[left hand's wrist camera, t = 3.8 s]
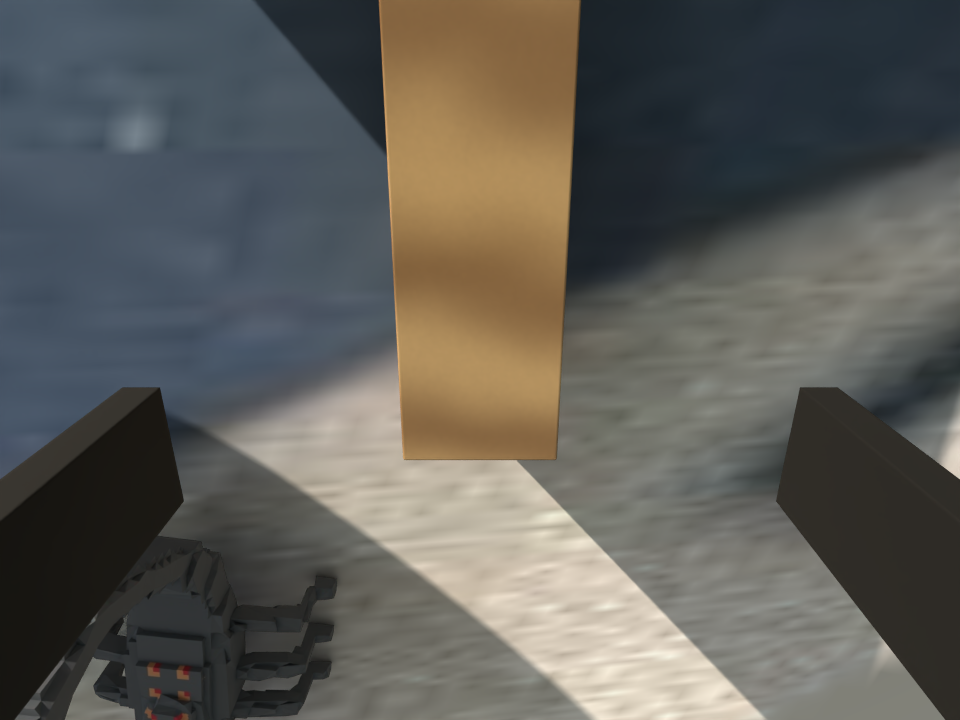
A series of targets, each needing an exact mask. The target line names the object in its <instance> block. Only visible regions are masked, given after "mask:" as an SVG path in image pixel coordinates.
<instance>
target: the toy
mask: <svg viewBox="0 0 960 720" xmlns="http://www.w3.org/2000/svg"><path fill="white" fill-rule="evenodd" d="M336 586H337V579H335V578H326V577H317V576H316V582H315V586H309V587H308V588H307V590H306V593H305V595H304V598H303V600H302V603H301V604H297V606H282V605H278V606H275V607H273V608H271V607H261V606H251V605H241V606H239V607H238V606H237V602H236V599H235V596H234V593H233V591H232V588H231V586H230V584H229V583H228V581H227V578H226V574H225V570H224V566H223V562H222V559H221V555H220V553H219V552H212V551H210V549H206V548H202V542H201V541H194V540H186V539H178V538H169V537H161V536H156V538H155V539H154V540H153V542H152V543H151V544H150V546H149V547H148V548H147V549H146V551H145V552H144V553H143V555H142V556H141V557H140V558H139V560H138V561H137V562H136V564H135V565H134V566H133V567H132V569H131V570H130V571H129V573H128V574H127V575H126V577H125V578H124V579H123V580H122V582H121V583H120V584H119V586H118V587H117V588H116V589H115V591H114V592H113V593H112V595H111V596H110V597H109V598H108V600H107V601H106V602H105V604H104V605H103V606H102V608H101V609H100V610H99V611H98V613H97V614H96V615H95V617H94V618H93V619H92V620H91V622H90V623H89V624H88V626H87V627H86V628H85V629H84V631H83V632H82V633H81V635H80V636H79V637H78V639H77V640H76V641H75V642H74V644H73V645H72V646H71V648H70V649H69V650H68V651H67V653H66V654H65V655H64V657H63V658H62V659H61V661H60V662H59V663H58V664H57V666H56V667H55V668H54V670H53V671H52V672H51V673H50V675H49V676H48V677H47V679H46V680H45V681H44V682H43V684H42V685H41V686H40V688H39V689H38V690H37V692H36V693H35V694H34V695H33V697H32V698H31V699H30V701H29V702H28V703H27V704H26V706H25V707H24V708H23V710H22V711H21V712H20V713H19V715H18V716H17V717H16V719H15V720H65V717H66V714H67V711H68V708H69V705H70V702H71V699H72V696H73V694H74V692H75V690H76V688H77V686H78V684H79V682H80V680H81V678H82V676H83V674H84V673H85V671H86V669H87V667H88V665H89V663H90V661H91V659H92V657H94V658H96V659H102V660H109V661H110V662H109V664H108V665H107V667H106V668H105V669H104V671H103V672H102V674H101V675H100V677H99V678H98V680H97V681H96V683H95V684H94V690H95V694H97V695H98V696H99V697H100V698H103V699H106V700H109V701H113V702H117V703H119V704H120V706H127V707H129V708H134V709H135V719H136V720H235V718H246V719H247V717H269V716H290V715H297V714H298V712H299V710H300V709H301V707H302V706H303V704H304V702H305V699H306V697H307V694H308V692H309V689H310V686H311V684H312V681H313V680H317V679H325V678H327V677H329V674H330V670H331V662H321V661H311V662H309V660H310V657H311V654H312V651H313V648H314V644H315V643H320V642H327V641H331V639H332V636H333V631H334V625H325V624H316V623H309V625H308V628H307V631H306V633H305V636H304V639H303V642H302V645H301V647H300V646H296V647H295V649H294V651H293V653H290V652H252V653H249V654H245V634H244V631H264V632H301V630H302V627H303V624H304V622H308V620H309V617H310V614H311V610H312V607H313V605H314V604H315V602H316V601H317V600H326V599H332V598H334V596H335V593H336ZM127 614H128V619H127V637H125V636H119V635H117V634H118V632H119V630H120V628H121V626H122V624H123V623H124V620H123V617H126V615H127ZM124 668H125V674H126V677H124V676H122V673H123V670H124ZM299 674H302V675H301V677H300V680H299V682H298V684H297V685H296V686H294V687H293V688H292V689H291V690H266V691H255V690H253V691H244V690H243V689H242V687H243V685H244V682H245V680H254V681H261V680H265V679H268V678H272V677H281V678H290V677H293V676H296V675H299Z"/></svg>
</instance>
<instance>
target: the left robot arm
mask: <svg viewBox="0 0 960 720" xmlns="http://www.w3.org/2000/svg"><path fill="white" fill-rule="evenodd" d="M183 502H184V499H183V495H182V490H181V485H180V481H179V476H178V471H177V466H176V462H175V457H174V452H173V447H172V443H171V438H170V433H169V429H168V424H167V419H166V414H165V410H164V405H163V400H162V395H161V391H160V388H121V389H120V390H119V391H117V392H116V393H115V394H113V395H112V396H111V397H109V398H108V399H107V400H105V401H104V402H103V403H101V404H100V405H99V406H97V407H96V408H95V409H93V410H92V411H91V412H89V413H88V414H87V415H85V416H84V417H83V418H81V419H80V420H79V421H77V422H76V423H75V424H73V425H72V426H71V427H69V428H68V429H67V430H65V431H64V432H63V433H61V434H60V435H59V436H57V437H56V438H55V439H53V440H52V441H51V442H49V443H48V444H47V445H45V446H44V447H43V448H41V449H40V450H39V451H37V452H36V453H35V454H33V455H32V456H31V457H29V458H28V459H27V460H25V461H24V462H23V463H21V464H20V465H19V466H17V467H16V468H15V469H13V470H12V471H11V472H10V473H8V474H7V475H6V476H4V477H3V478H2V479H0V720H15V719H16V717H17V716H18V715H19V713H20V712H21V711H22V710H23V708H24V707H25V706H26V704H27V703H28V702H29V701H30V699H31V698H32V697H33V695H34V694H35V693H36V692H37V690H38V689H39V688H40V686H41V685H42V684H43V682H44V681H45V680H46V679H47V677H48V676H49V675H50V673H51V672H52V671H53V670H54V668H55V667H56V666H57V664H58V663H59V662H60V661H61V659H62V658H63V657H64V655H65V654H66V653H67V651H68V650H69V649H70V648H71V646H72V645H73V644H74V642H75V641H76V640H77V639H78V637H79V636H80V635H81V633H82V632H83V631H84V629H85V628H86V627H87V626H88V624H89V623H90V622H91V620H92V619H93V618H94V617H95V615H96V614H97V613H98V611H99V610H100V609H101V608H102V606H103V605H104V604H105V602H106V601H107V600H108V598H109V597H110V596H111V595H112V593H113V592H114V591H115V589H116V588H117V587H118V586H119V584H120V583H121V582H122V580H123V579H124V578H125V577H126V575H127V574H128V573H129V571H130V570H131V569H132V567H133V566H134V565H135V564H136V562H137V561H138V560H139V558H140V557H141V556H142V555H143V553H144V552H145V551H146V549H147V548H148V547H149V546H150V544H151V543H152V542H153V540H154V539H155V538H156V536H157V535H158V534H159V533H160V531H161V530H162V529H163V527H164V526H165V525H166V524H167V522H168V521H169V520H170V518H171V517H172V516H173V515H174V513H175V512H176V511H177V509H178V508H179V507H180V505H181V504H182V503H183ZM776 502H777V503H778V504H779V505H780V507H781V508H782V509H783V511H784V512H785V513H786V515H787V516H788V517H789V518H790V520H791V521H792V522H793V524H794V525H795V526H796V527H797V529H798V530H799V531H800V533H801V534H802V535H803V536H804V538H805V539H806V540H807V542H808V543H809V544H810V546H811V547H812V548H813V549H814V551H815V552H816V553H817V555H818V556H819V557H820V558H821V560H822V561H823V562H824V564H825V565H826V566H827V567H828V569H829V570H830V571H831V573H832V574H833V575H834V577H835V578H836V579H837V580H838V582H839V583H840V584H841V586H842V587H843V588H844V589H845V591H846V592H847V593H848V595H849V596H850V597H851V598H852V600H853V601H854V602H855V604H856V605H857V606H858V608H859V609H860V610H861V611H862V613H863V614H864V615H865V617H866V618H867V619H868V620H869V622H870V623H871V624H872V626H873V627H874V628H875V629H876V631H877V632H878V633H879V635H880V636H881V637H882V639H883V640H884V641H885V642H886V644H887V645H888V646H889V648H890V649H891V650H892V651H893V653H894V654H895V655H896V657H897V658H898V659H899V661H900V662H901V663H902V664H903V666H904V667H905V668H906V670H907V671H908V672H909V673H910V675H911V676H912V677H913V679H914V680H915V681H916V682H917V684H918V685H919V686H920V688H921V689H922V690H923V691H924V693H925V694H926V695H927V697H928V698H929V699H930V700H931V702H932V703H933V704H934V706H935V707H936V708H937V710H938V711H939V712H940V713H941V715H942V716H943V717H944V719H945V720H960V479H958V478H957V477H956V476H954V475H953V474H952V473H950V472H949V471H948V470H947V469H945V468H944V467H943V466H941V465H940V464H939V463H937V462H936V461H935V460H933V459H932V458H931V457H929V456H928V455H927V454H925V453H924V452H923V451H921V450H920V449H919V448H917V447H916V446H915V445H913V444H912V443H911V442H909V441H908V440H907V439H905V438H904V437H903V436H901V435H900V434H899V433H897V432H896V431H895V430H893V429H892V428H891V427H889V426H888V425H887V424H885V423H884V422H883V421H881V420H880V419H879V418H877V417H876V416H875V415H873V414H872V413H871V412H869V411H868V410H867V409H865V408H864V407H863V406H861V405H860V404H859V403H857V402H856V401H855V400H853V399H852V398H851V397H849V396H848V395H847V394H845V393H844V392H843V391H841V390H840V389H839V388H800V391H799V395H798V400H797V405H796V410H795V414H794V419H793V424H792V428H791V433H790V438H789V443H788V447H787V452H786V457H785V462H784V466H783V471H782V476H781V481H780V485H779V490H778V495H777V499H776Z"/></svg>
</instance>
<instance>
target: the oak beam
mask: <svg viewBox="0 0 960 720" xmlns="http://www.w3.org/2000/svg"><path fill="white" fill-rule="evenodd" d="M379 13H380V32H381V50H382V69H383V88H384V107H385V126H386V144H387V163H388V182H389V201H390V220H391V238H392V257H393V276H394V295H395V314H396V332H397V351H398V370H399V389H400V408H401V426H402V445H403V459H404V460H556V459H557V445H558V426H559V408H560V389H561V370H562V351H563V332H564V314H565V295H566V276H567V257H568V238H569V220H570V201H571V182H572V163H573V144H574V126H575V107H576V88H577V69H578V50H579V32H580V13H581V0H379Z"/></svg>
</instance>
